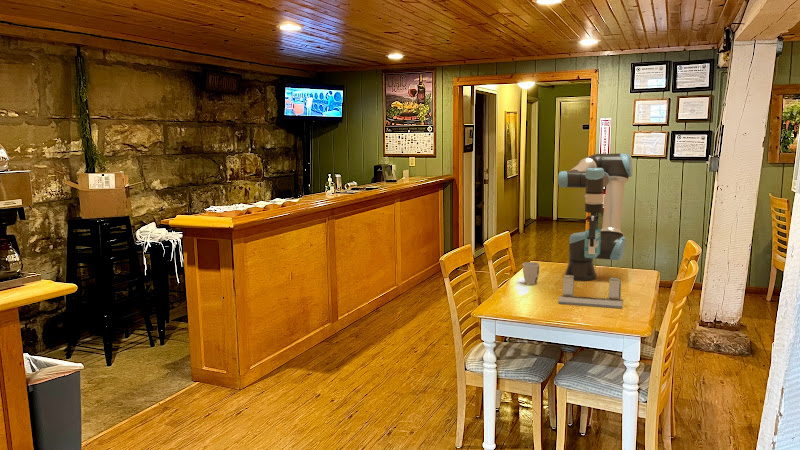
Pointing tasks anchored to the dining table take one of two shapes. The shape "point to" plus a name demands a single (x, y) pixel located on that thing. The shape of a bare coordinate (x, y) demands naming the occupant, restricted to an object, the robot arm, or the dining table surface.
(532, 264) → the cup
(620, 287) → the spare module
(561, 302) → the rail plate
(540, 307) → the dining table surface
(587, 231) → the data package
